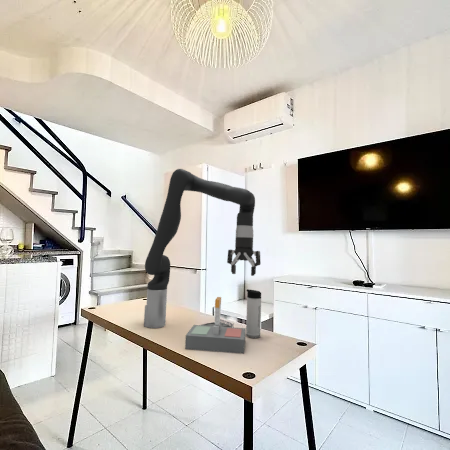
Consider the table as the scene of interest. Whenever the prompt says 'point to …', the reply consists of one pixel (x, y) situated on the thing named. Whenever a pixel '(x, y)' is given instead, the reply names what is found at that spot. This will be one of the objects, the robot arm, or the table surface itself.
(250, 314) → the travel mug
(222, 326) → the graphics card
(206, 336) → the breaker base
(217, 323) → the breaker lever
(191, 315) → the table surface
